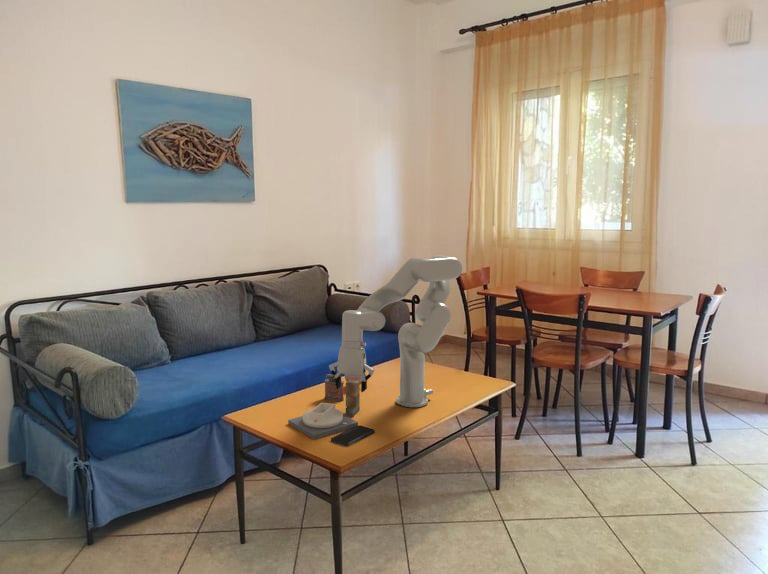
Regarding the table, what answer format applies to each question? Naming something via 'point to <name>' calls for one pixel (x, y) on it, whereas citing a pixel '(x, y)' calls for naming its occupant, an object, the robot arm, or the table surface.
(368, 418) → the table surface
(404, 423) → the table surface
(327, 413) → the dial
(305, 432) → the dial plate
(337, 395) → the lighter
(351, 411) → the tan block
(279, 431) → the table surface
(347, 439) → the phone
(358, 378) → the decorative fruit
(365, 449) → the table surface
